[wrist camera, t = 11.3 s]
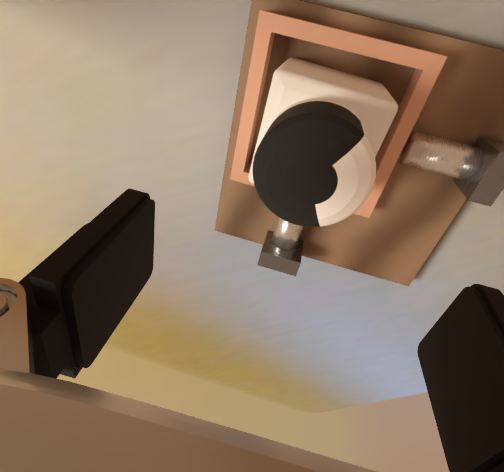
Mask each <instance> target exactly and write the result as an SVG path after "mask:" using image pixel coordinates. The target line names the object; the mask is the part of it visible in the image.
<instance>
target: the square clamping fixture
mask: <svg viewBox="0 0 504 472" xmlns="http://www.w3.org/2000/svg"><path fill="white" fill-rule="evenodd" d="M290 57H293V58H297V59H300V60H304V61H307V62H311V63H314V64H318V65H321V66H324V67H328V68H331V69H335V70H338V71H342V72H345V73H349V74H352V75H355V76H359V77H362V78H366V79H369V80H373V81H376V82H379V83H382V84H383V85H384V87H385V88H386V89H387V91H388V92H389V93H390V95H391V96H392V97H393V99H394V100H395V101H396V103H397V104H398V111H397V113H396V115H395V117H394V119H393V121H392V123H391V126H390V128H389V130H388V132H387V134H386V136H385V138H384V140H383V142H382V144H381V147H380V149H379V151H378V153H377V155H376V157H375V161H376V177H375V182H374V185H373V188H372V191H371V193H370V195H369V196H368V198H367V200H366V201H365V202H364V204H363V205H362V206H361V207H360V208H359V209H358V210H357V211H356V212H355V213H353V214H352V215H351V216H349V217H348V218H346V219H344V220H342V221H340V222H338V223H335V224H332V225H328V226H322V227H304V226H299V225H295V224H292V223H289V222H287V221H285V220H283V219H281V218H279V217H278V216H276V215H275V214H274V213H272V212H271V211H270V210H269V209H268V208H267V207H266V206H265V204H264V203H263V202H262V200H261V199H260V197H259V195H258V193H257V191H256V188H255V185H254V184H253V183H251V182H250V181H249V178H248V176H249V172H250V168H251V164H252V160H253V155H254V151H255V147H256V143H257V139H258V135H259V131H260V127H261V123H262V119H263V114H264V110H265V106H266V102H267V98H268V94H269V90H270V86H271V82H272V78H273V74H274V72H275V70H276V69H278V68H279V67H280V66H281V65H282V64H283V63H284V62H285V61H286V60H287V59H289V58H290ZM503 189H504V50H500V49H496V48H492V47H488V46H484V45H480V44H476V43H471V42H467V41H463V40H459V39H455V38H451V37H447V36H443V35H439V34H435V33H431V32H426V31H422V30H418V29H414V28H410V27H406V26H402V25H398V24H394V23H390V22H386V21H381V20H377V19H373V18H369V17H365V16H361V15H357V14H353V13H349V12H345V11H341V10H336V9H332V8H328V7H324V6H320V5H316V4H312V3H308V2H304V1H300V0H252V3H251V10H250V16H249V22H248V28H247V34H246V40H245V47H244V53H243V59H242V65H241V71H240V78H239V84H238V90H237V96H236V102H235V108H234V115H233V121H232V127H231V133H230V139H229V145H228V152H227V158H226V164H225V170H224V176H223V182H222V189H221V195H220V201H219V207H218V213H217V219H216V226H215V231H218V232H222V233H225V234H229V235H232V236H236V237H239V238H243V239H246V240H250V241H253V242H257V243H260V244H263V248H262V251H261V255H260V258H259V262H258V265H259V266H263V267H266V268H270V269H273V270H277V271H280V272H283V273H287V274H290V275H294V276H296V274H297V271H298V268H299V266H300V263H301V256H305V257H309V258H312V259H316V260H319V261H323V262H326V263H330V264H333V265H337V266H340V267H344V268H347V269H351V270H354V271H357V272H361V273H364V274H368V275H371V276H375V277H378V278H382V279H385V280H389V281H392V282H396V283H399V284H403V285H406V286H409V285H410V283H411V282H412V280H413V279H414V277H415V276H416V274H417V273H418V271H419V270H420V268H421V267H422V265H423V264H424V262H425V261H426V259H427V258H428V256H429V255H430V253H431V252H432V250H433V249H434V247H435V246H436V244H437V243H438V241H439V240H440V238H441V237H442V235H443V233H444V232H445V230H446V229H447V227H448V226H449V224H450V223H451V221H452V220H453V218H454V217H455V215H456V214H457V212H458V211H459V209H460V208H461V206H462V205H463V203H464V202H465V200H466V199H467V200H469V201H472V202H476V203H480V204H484V205H487V206H491V205H492V204H493V202H494V201H495V200H496V198H497V197H498V195H499V194H500V193H501V191H502V190H503Z"/></svg>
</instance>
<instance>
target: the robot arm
mask: <svg viewBox="0 0 504 472" xmlns="http://www.w3.org/2000/svg"><path fill="white" fill-rule="evenodd" d="M154 219H155V202H154V200H151V199H150V196H149V194H148V193H144V192H140V191H137V190H133V189H128V190H126V191H125V192H124V193H123V194H121V195H120V196H119V197H118V198H117V199H116V200H115V201H113V202H112V203H111V204H110V205H109V206H108V207H107V208H105V209H104V210H103V211H102V212H101V213H100V214H99V215H98V216H96V217H95V218H94V219H93V220H92V221H91V222H90V223H88V224H86V225H84V226H83V227H82V228H81V229H79V230H78V231H77V232H76V233H75V234H74V235H73V236H71V237H70V238H69V239H68V240H67V241H66V242H65V243H63V244H62V245H61V246H60V247H59V248H58V249H56V250H55V251H54V252H53V253H52V254H51V255H50V256H48V257H47V258H46V259H45V260H44V261H43V262H41V263H40V264H39V265H38V266H37V267H36V268H35V269H33V270H32V271H31V272H30V273H29V274H28V275H27V276H25V277H24V278H23V279H22V280H21V281H20V282H16V281H13V280H10V279H4V278H0V472H376V471H373V470H369V469H366V468H363V467H359V466H356V465H352V464H349V463H346V462H343V461H339V460H336V459H333V458H329V457H326V456H323V455H319V454H316V453H312V452H309V451H306V450H303V449H299V448H296V447H292V446H289V445H286V444H283V443H279V442H276V441H273V440H269V439H266V438H262V437H259V436H256V435H253V434H249V433H246V432H242V431H239V430H236V429H232V428H229V427H226V426H222V425H219V424H216V423H212V422H209V421H205V420H202V419H198V418H195V417H192V416H188V415H185V414H182V413H178V412H175V411H171V410H168V409H164V408H161V407H158V406H154V405H151V404H148V403H144V402H141V401H137V400H134V399H130V398H126V397H123V396H119V395H116V394H112V393H108V392H105V391H101V390H97V389H94V388H90V387H87V386H83V385H79V384H76V383H72V382H68V381H63V380H59V379H56V378H57V377H58V376H59V374H62V375H65V376H69V377H72V378H76V376H77V375H78V373H79V372H80V370H81V369H82V367H84V368H88V367H89V366H90V365H91V364H92V363H93V361H94V360H95V358H96V357H97V355H98V354H99V352H100V351H101V349H102V348H103V346H104V345H105V343H106V342H107V340H108V339H109V337H110V336H111V334H112V333H113V331H114V330H115V329H116V327H117V326H118V324H119V323H120V321H121V320H122V318H123V317H124V315H125V314H126V312H127V311H128V309H129V308H130V306H131V305H132V303H133V302H134V300H135V299H136V297H137V296H138V294H139V293H140V291H141V290H142V288H143V287H144V285H145V284H146V282H147V281H148V279H149V278H150V276H151V274H152V270H153V254H154ZM418 357H419V360H420V364H421V368H422V372H423V375H424V379H425V383H426V386H427V390H428V394H429V398H430V401H431V405H432V409H433V412H434V416H435V420H436V423H437V427H438V431H439V435H440V438H441V442H442V446H443V449H444V453H445V457H446V460H447V464H448V468H449V471H450V472H504V295H503V294H502V293H501V291H500V290H498V289H495V288H491V287H487V286H484V285H480V284H474V285H472V286H471V287H466V288H464V289H463V290H462V291H461V293H460V294H459V295H458V296H457V297H456V299H455V300H454V301H453V302H452V304H451V305H450V306H449V307H448V309H447V310H446V311H445V312H444V314H443V315H442V316H441V317H440V318H439V320H438V321H437V322H436V323H435V325H434V326H433V327H432V328H431V330H430V331H429V332H428V333H427V335H426V336H425V337H424V338H423V339H422V341H421V342H420V344H419V346H418Z"/></svg>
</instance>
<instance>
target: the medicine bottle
mask: <svg viewBox="0 0 504 472" xmlns="http://www.w3.org/2000/svg"><path fill="white" fill-rule="evenodd" d="M397 111H398V104H397V103H396V101H395V100H394V99H393V97H392V96H391V95H390V93H389V92H388V91H387V89H386V88H385V87H384V85H383V84H382V83H379V82H376V81H373V80H369V79H366V78H362V77H359V76H355V75H352V74H349V73H345V72H342V71H338V70H335V69H331V68H328V67H324V66H321V65H318V64H314V63H311V62H307V61H304V60H300V59H297V58H293V57H290V58H289V59H287V60H286V61H285V62H284V63H283V64H282V65H281V66H280V67H279V68H278V69H276V70H275V72H274V74H273V78H272V82H271V86H270V90H269V94H268V98H267V102H266V106H265V110H264V114H263V119H262V123H261V127H260V131H259V135H258V139H257V143H256V147H255V151H254V155H253V160H252V164H251V168H250V172H249V176H248V178H249V181H250V182H251V183H253V184H254V185H255V188H256V191H257V193H258V195H259V197H260V199H261V200H262V202H263V203H264V204H265V206H266V207H267V208H268V209H269V210H270V211H271V212H272V213H274V214H275V215H276V216H278V217H279V218H281V219H283V220H285V221H287V222H289V223H292V224H295V225H299V226H304V227H322V226H328V225H332V224H335V223H338V222H340V221H342V220H344V219H346V218H348V217H349V216H351V215H352V214H353V213H355V212H356V211H357V210H358V209H359V208H360V207H361V206H362V205H363V204H364V202H365V201H366V200H367V198H368V196H369V195H370V193H371V191H372V188H373V185H374V182H375V177H376V161H375V157H376V155H377V153H378V151H379V149H380V147H381V144H382V142H383V140H384V138H385V136H386V134H387V132H388V130H389V128H390V126H391V123H392V121H393V119H394V117H395V115H396V113H397Z"/></svg>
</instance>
